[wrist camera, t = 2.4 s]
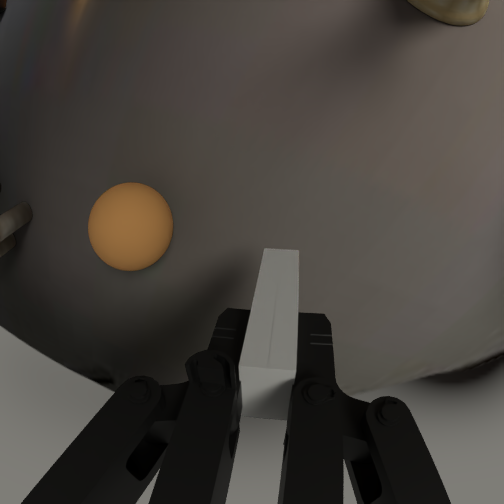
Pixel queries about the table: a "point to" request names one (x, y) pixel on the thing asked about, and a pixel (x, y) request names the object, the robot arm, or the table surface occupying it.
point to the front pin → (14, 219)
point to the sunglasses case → (2, 5)
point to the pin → (7, 244)
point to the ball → (130, 226)
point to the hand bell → (453, 10)
